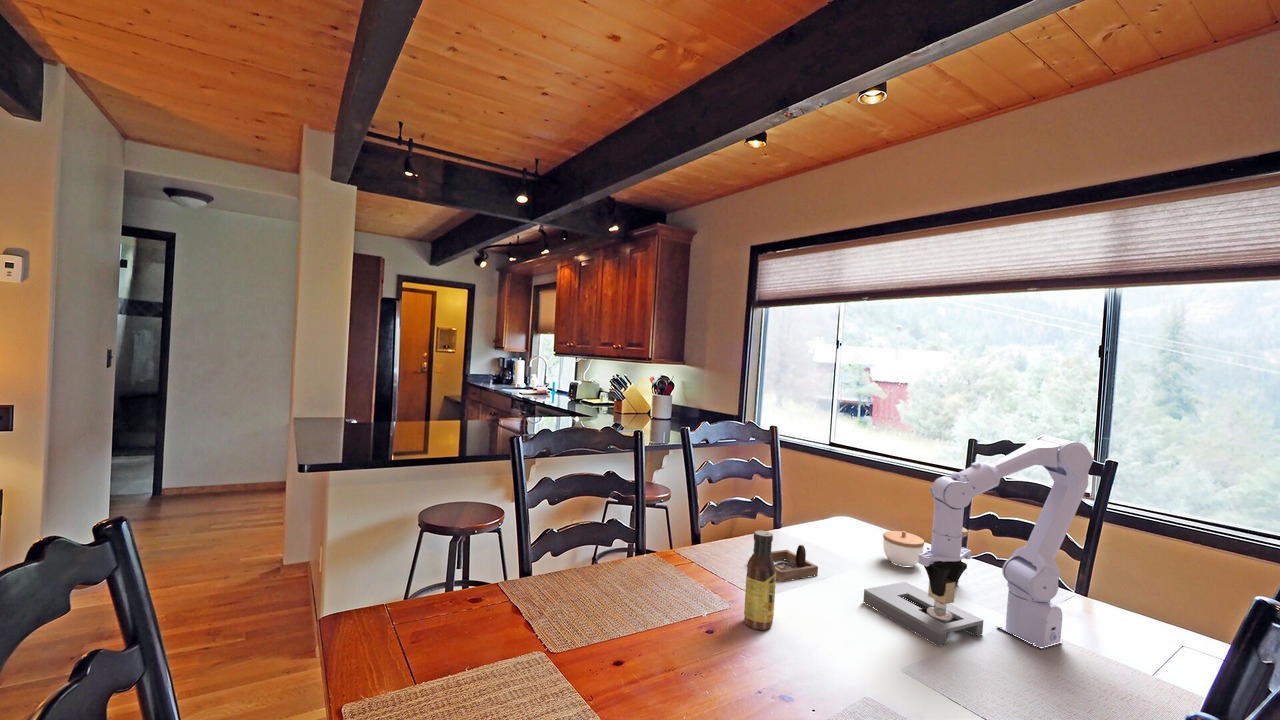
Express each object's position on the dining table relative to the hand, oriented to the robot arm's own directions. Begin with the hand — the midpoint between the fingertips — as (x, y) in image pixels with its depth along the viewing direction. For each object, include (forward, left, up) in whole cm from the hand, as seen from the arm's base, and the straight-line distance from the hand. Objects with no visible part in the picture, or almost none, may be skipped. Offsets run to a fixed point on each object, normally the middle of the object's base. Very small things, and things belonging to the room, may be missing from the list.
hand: (942, 593), depth 122 cm
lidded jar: (+30, -24, -8) cm, 39 cm away
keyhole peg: (0, 0, -5) cm, 5 cm away
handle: (+16, -26, -8) cm, 32 cm away
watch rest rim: (+37, +13, -8) cm, 40 cm away
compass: (+35, +13, -8) cm, 38 cm away
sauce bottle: (+15, +38, -8) cm, 42 cm away
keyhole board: (+5, 0, -8) cm, 9 cm away
